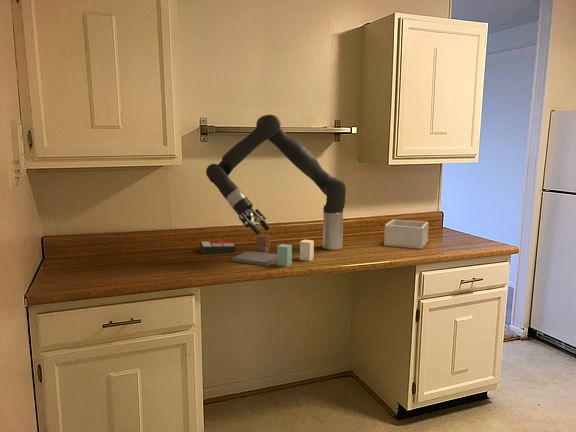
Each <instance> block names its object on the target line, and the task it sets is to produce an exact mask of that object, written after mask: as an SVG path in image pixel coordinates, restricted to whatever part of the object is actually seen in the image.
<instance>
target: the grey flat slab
mask: <svg viewBox="0 0 576 432" xmlns="http://www.w3.org/2000/svg"><path fill="white" fill-rule="evenodd" d="M231 259H232V261H231V262H234V263H241V264H250V265H257V266H265V267H266V266H268V265H270V264H272V263H273V262H274V263H275V262H276V261H277V253H271V252H270V253H263V252H257V251H254V250H253V251H252V250H247V251H245V252H243V253H241V254H238V255H235V256H234V257H231Z"/></svg>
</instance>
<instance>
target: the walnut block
mask: <svg viewBox="0 0 576 432" xmlns="http://www.w3.org/2000/svg"><path fill="white" fill-rule="evenodd" d="M256 252H263V253H271V235H270V234H262V233H261V234H257V236H256Z"/></svg>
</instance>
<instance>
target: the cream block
mask: <svg viewBox="0 0 576 432" xmlns="http://www.w3.org/2000/svg"><path fill="white" fill-rule="evenodd" d="M314 241H315V240H311V239H303V240H301V241H299V260H300V261H307V262H310V261H312V260H314V256H315V255H314V254H315V253H314V251H315V246H314V245H315V242H314Z"/></svg>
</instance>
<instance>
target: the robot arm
mask: <svg viewBox="0 0 576 432" xmlns="http://www.w3.org/2000/svg"><path fill="white" fill-rule="evenodd" d="M281 125H282V123H281V120H280V118H278V116H276V115H274V114H265V115H262V116H260V117H259V118H258V119H257V121H256V128H255V129H253V130H252V131H251V133H249V134H248V135H247V136H246V137H244V138H243V139H241V140H240V141H239V142H238V143H237V144H235V145H234V146H232V147H231V148H230V149H229V150H228V151H227V152H226V153H225V154H224V155H223V156H222V158H221V161H220V162H219V163H211V164H209V165H208V166H207V168H206V171H205V172H206V177H207V178H208V180H209V181H210V182H211V183H213V185H215V187H216V188H217V189H218V191H219V192H220V194H221V196H223V198H224V199H225V200H226V201H227V203H228V204H229V206H230V208H232V209H233V210H234V212H235V213H236V214H237V216H238V219H239V220H240V222H242V224H243V225H244V226H245V228H249V229H251V230H252V231H253V232H254V234H255V235H260V233H261V230H260V228H259V227H258V226H257V224H259V225H260V226H261V227H262V228H263V229H264V230H265V232H268V231H269V230H270V229H271V226H269V224H267V222H266V220H267V217H266V216H264V214H263V213H262V212H261V211H260V210H259V209H258V208H256V209H255V210H254V208H253V206H254V204H253V203H252V202H251V201H250V199H249V198H248V197H247V196H246V195H245V193H244V192H242V190H240V188H239V187H238V185H236V184H235V182H233V180H231V179H230V177H229V175H230V174H231V173H232V172H233V170H234V169H235V168H236V167H237V166H238V165H239V164H240V163H241V162H243V161H244V160H245V159H246V158H247V157H248V156H249V155H250V154H251V153H252V152H253V151H254V150H255V149H257V148H258V147H259V146H260V145H261V144H263V143H264V142H265V141H269V142H270V143H272V144H273V145H274V146H275V147H276V148H277V149H278V150H279V151H280V152H281V153H282V154H283V155H284V156H285V158H286V159H288V160H289V162H291V163H292V164H293V165H294V167H296V168H297V169H298V170H299V171H300V172H302V174H304V175H305V176H306V177H308V178H310V180H311V181H312V182H313V183H314V184H315V185H316V186H317V187H318V188H319V189H320V191H321V192H322V194H324V195H325V196H326V199H325V200H326V203H325V205H323V211H322V213H323V216H322V220H323V221H322V222H323V223H322V224H323V225H322V248H323V249H325V250H333V251H334V250H341V249H343V231H344V229H343V228H344V227H343V226H344V208H345V205H346V193H347V192H346V184H345V182H344V181H343V180H342V179H341V178H337V177H334V176H332V175H330V174H329V173H328V172H327V171H326V170H325V169H324V168H323V166H321V165H320V163H319V161H318V160H317V158H316V157H315V156H314V155H313V153H312V152H311V151H310V150H309V149H308V148H307V147H306V146H305V145H304V144H303V143H301V142H299V141H298V140H296V139H295V138H293V137H291V136H290V135H289V134H287V133H286V132H285V131H284V130H283V129H282V128H281ZM255 223H257V224H255Z"/></svg>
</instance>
